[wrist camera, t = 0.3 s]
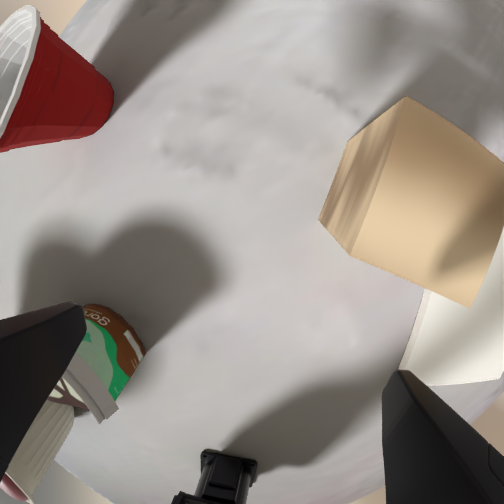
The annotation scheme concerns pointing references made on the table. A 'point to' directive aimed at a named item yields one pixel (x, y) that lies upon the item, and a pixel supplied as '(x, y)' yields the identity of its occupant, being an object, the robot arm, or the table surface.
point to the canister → (37, 450)
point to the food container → (100, 364)
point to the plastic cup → (46, 86)
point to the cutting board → (460, 334)
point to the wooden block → (419, 201)
